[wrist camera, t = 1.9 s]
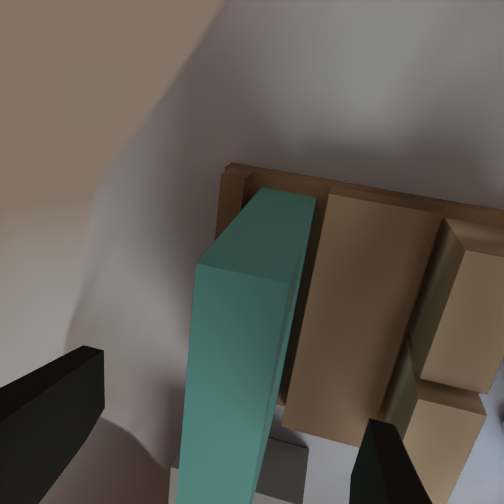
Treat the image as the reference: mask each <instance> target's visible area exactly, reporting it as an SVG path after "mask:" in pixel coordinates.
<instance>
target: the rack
mask: <svg viewBox="0 0 504 504" xmlns="http://www.w3.org/2000/svg"><path fill="white" fill-rule="evenodd" d="M262 187H263V188H269V189H274V190H280V191H285V192H291V193H296V194H302V195H307V196H313V197H317V200H316V205H315V210H314V215H313V220H312V225H311V231H310V236H309V241H308V246H307V251H306V256H305V261H304V266H303V271H302V277H301V282H300V287H299V292H298V297H297V302H296V307H295V312H294V317H293V323H292V328H291V333H290V338H289V343H288V348H287V353H286V358H285V364H284V369H283V374H282V379H281V384H280V389H279V394H278V399H277V403H276V404H278V405H282V406H285V410H284V415H283V420H282V425H281V427H285V428H288V429H292V430H296V431H300V432H303V433H307V434H311V435H314V436H318V437H322V438H325V439H329V440H333V441H337V442H340V443H344V444H348V445H351V446H355V447H359V448H360V446H361V442H362V439H363V436H364V433H365V430H366V427H367V423H368V420H369V418H371V419H374V420H378V419H379V416H380V413H381V410H382V407H383V404H384V401H385V398H386V395H387V392H388V389H389V386H390V382H391V379H392V376H393V373H394V370H395V367H396V364H397V361H398V358H399V355H400V352H401V349H402V346H403V343H404V340H405V337H410V332H409V324H410V321H411V318H412V315H413V312H414V309H415V306H416V303H417V300H418V297H419V294H420V291H421V288H422V285H423V282H424V279H425V276H426V273H427V269H428V266H429V263H430V260H431V257H432V254H433V251H434V248H435V245H436V242H437V239H438V236H439V233H440V230H441V227H442V224H443V221H444V218H448V219H454V220H459V221H465V222H470V223H476V224H481V225H487V226H492V227H498V228H503V229H504V211H502V210H496V209H491V208H485V207H479V206H474V205H468V204H462V203H457V202H451V201H445V200H440V199H434V198H428V197H422V196H417V195H411V194H405V193H400V192H394V191H388V190H383V189H377V188H371V187H366V186H360V185H354V184H349V183H343V182H337V181H332V180H326V179H320V178H315V177H309V176H303V175H298V174H292V173H286V172H281V171H275V170H269V169H264V168H258V167H252V166H246V165H241V164H235V163H231V164H229V165H228V166H226V169H225V172H224V173H223V174H222V175H221V185H220V195H219V205H218V215H217V225H216V235H215V241H216V239H217V238H218V237H219V236H220V235H221V234H222V232H223V231H224V230H225V229H226V228H227V227H228V226H229V224H230V223H231V222H232V221H233V220H234V219H235V217H236V216H237V215H238V214H239V213H240V212H241V211H242V209H243V208H244V207H245V206H246V205H247V204H248V202H249V201H250V200H251V199H252V198H253V197H254V196H255V194H256V193H257V192H258V191H259V190H260V189H261V188H262Z"/></svg>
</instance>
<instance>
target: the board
mask: <svg viewBox="0 0 504 504" xmlns="http://www.w3.org/2000/svg"><path fill="white" fill-rule="evenodd" d="M316 200H317V197H313V196H307V195H302V194H296V193H291V192H285V191H280V190H274V189H269V188H263V187H262V188H261V189H260V190H259V191H258V192H257V193H256V194H255V196H254V197H253V198H252V199H251V200H250V201H249V202H248V204H247V205H246V206H245V207H244V208H243V209H242V211H241V212H240V213H239V214H238V215H237V216H236V217H235V219H234V220H233V221H232V222H231V223H230V224H229V226H228V227H227V228H226V229H225V230H224V231H223V232H222V234H221V235H220V236H219V237H218V238H217V239H216V241H215V242H214V243H213V244H212V245H211V246H210V247H209V249H208V250H207V251H206V252H205V253H204V254H203V256H202V257H201V258H200V259H199V260H198V261H197V262H196V267H195V279H194V291H193V303H192V315H191V328H190V340H189V352H188V364H187V377H186V389H185V401H184V413H183V425H182V438H181V450H180V462H179V474H178V487H177V499H176V504H252V503H253V498H254V494H255V490H256V486H257V482H258V478H259V473H260V469H261V465H262V461H263V457H264V453H265V449H266V444H267V440H268V436H269V432H270V428H271V424H272V419H273V415H274V411H275V407H276V403H277V399H278V394H279V389H280V384H281V379H282V374H283V369H284V364H285V358H286V353H287V348H288V343H289V338H290V333H291V328H292V323H293V317H294V312H295V307H296V302H297V297H298V292H299V287H300V282H301V277H302V271H303V266H304V261H305V256H306V251H307V246H308V241H309V236H310V231H311V225H312V220H313V215H314V210H315V205H316Z"/></svg>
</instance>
